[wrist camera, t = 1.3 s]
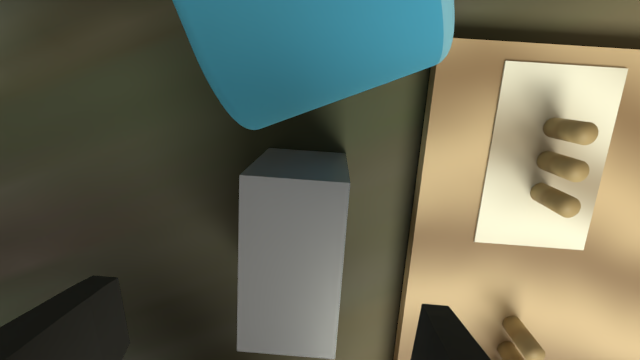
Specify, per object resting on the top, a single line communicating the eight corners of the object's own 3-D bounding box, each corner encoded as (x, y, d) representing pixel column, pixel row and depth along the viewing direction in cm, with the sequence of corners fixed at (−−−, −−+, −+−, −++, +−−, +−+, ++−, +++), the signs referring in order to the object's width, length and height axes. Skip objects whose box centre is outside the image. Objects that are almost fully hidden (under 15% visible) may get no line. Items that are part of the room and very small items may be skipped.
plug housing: (335, 282, 21) (334, 359, 15) (265, 276, 21) (236, 351, 15) (345, 153, 19) (350, 182, 13) (269, 147, 19) (239, 175, 13)
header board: (614, 423, 22) (664, 483, 19) (387, 403, 22) (396, 459, 19) (725, 58, 17) (819, 51, 14) (434, 39, 17) (457, 28, 14)
